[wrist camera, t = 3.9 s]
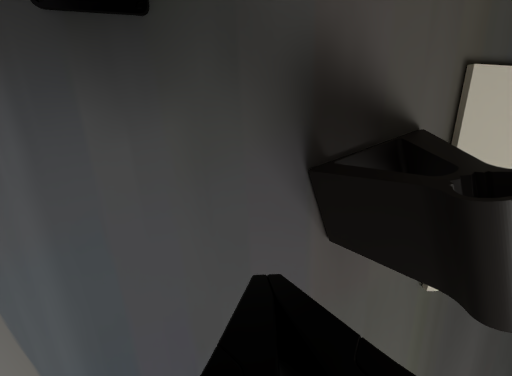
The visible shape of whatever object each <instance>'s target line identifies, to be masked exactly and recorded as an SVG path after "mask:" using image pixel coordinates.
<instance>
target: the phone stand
mask: <svg viewBox="0 0 512 376" xmlns="http://www.w3.org/2000/svg"><path fill="white" fill-rule="evenodd" d="M308 171H309V174H310V177H311V181H312V184H313V188H314V191H315V194H316V198H317V201H318V204H319V208H320V211H321V215H322V218H323V221H324V225H325V228H326V231H327V235H328V238H329V241H331V242H333V243H335V244H338V245H340V246H342V247H344V248H346V249H349V250H351V251H353V252H355V253H357V254H360V255H362V256H364V257H366V258H368V259H371V260H373V261H375V262H377V263H379V264H382V265H384V266H386V267H388V268H390V269H393V270H395V271H397V272H399V273H401V274H404V275H406V276H408V277H410V278H413V279H415V280H417V281H419V282H421V283H424V284H426V285H428V286H430V287H432V288H435V289H437V290H439V291H441V292H443V293H445V294H446V295H448V296H450V297H451V298H453V299H454V300H455V301H457V302H458V303H459V304H460V305H461V306H462V307H463V308H464V309H465V310H466V311H467V312H468V313H469V314H470V315H471V316H472V317H473V318H474V319H476V320H477V321H479V322H480V323H482V324H484V325H486V326H488V327H491V328H494V329H497V330H500V331H504V332H510V333H512V169H508V168H502V167H498V166H494V165H490V164H487V163H485V162H483V161H481V160H479V159H477V158H476V157H474V156H472V155H470V154H468V153H466V152H465V151H463V150H461V149H459V148H457V147H455V146H453V145H452V144H450V143H448V142H446V141H444V140H442V139H441V138H439V137H437V136H435V135H433V134H431V133H429V132H428V131H426V130H417V131H414V132H411V133H408V134H406V135H403V136H400V137H397V138H395V139H392V140H389V141H386V142H383V143H381V144H378V145H375V146H372V147H370V148H367V149H366V150H361V151H359V152H356V153H353V154H350V155H347V156H345V157H342V158H339V159H336V160H334V161H331V162H328V163H325V164H322V165H320V166H317V167H314V168H311V169H309V170H308Z"/></svg>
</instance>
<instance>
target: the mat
mask: <svg viewBox="0 0 512 376" xmlns="http://www.w3.org/2000/svg"><path fill="white" fill-rule="evenodd" d="M452 145H453V146H455V147H457V148H459V149H461V150H463V151H465V152H466V153H468V154H470V155H472V156H474V157H476V158H477V159H479V160H481V161H483V162H485V163H487V164H490V165H494V166H498V167H502V168H508V169H512V66H505V65H487V64H471V65H467V70H466V75H465V80H464V85H463V90H462V95H461V99H460V104H459V109H458V114H457V119H456V124H455V129H454V134H453V139H452ZM422 287H423V288H424V289H425V290H426V291H439V290H437V289H435V288H432V287H430V286H428V285H426V284H424V283H423V285H422Z"/></svg>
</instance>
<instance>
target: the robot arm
mask: <svg viewBox="0 0 512 376" xmlns="http://www.w3.org/2000/svg"><path fill="white" fill-rule="evenodd" d="M31 2H32V3H33V4H34V5H36V6H37V7H39V8H41V9H45V10H61V11H76V12H91V13H107V14H122V15H138V16H143V15H146V14H147V13H148V11H149V0H43V1H42V2H39V0H31ZM138 2H143V7H142V8H141V9H138V8H137V7H136V5H137V3H138ZM200 376H416V375H414V374H413V373H411V372H410V371H408V370H407V369H405V368H404V367H403V366H401V365H400V364H398V363H397V362H395V361H394V360H392V359H391V358H390V357H388V356H387V355H386V354H384V353H383V352H381V351H380V350H379V349H377V348H376V347H375V346H373V345H372V344H371V343H369V342H368V341H367V340H366V339H364V338H361V336H360V335H359V334H358V333H356V332H355V331H354V330H352V329H351V328H350V327H348V326H347V325H346V324H345V323H343V322H342V321H341V320H339V319H338V318H337V317H335V316H334V315H333V314H332V313H330V312H329V311H328V310H326V309H325V308H324V307H322V306H321V305H320V304H319V303H317V302H316V301H315V300H313V299H312V298H311V297H309V296H308V295H307V294H306V293H304V292H303V291H302V290H300V289H299V288H298V287H296V286H295V285H294V284H293V283H291V282H290V281H289V280H287V279H286V278H285V277H283V276H282V275H281V274H269V275H267V276H266V275H253V276H252V278H251V280H250V282H249V284H248V286H247V288H246V290H245V292H244V294H243V296H242V297H241V299H240V301H239V303H238V305H237V307H236V309H235V311H234V313H233V315H232V317H231V319H230V321H229V323H228V325H227V327H226V329H225V331H224V333H223V335H222V336H221V338H220V340H219V342H218V344H217V347H216V348H215V350H214V352H213V354H212V356H211V358H210V359H209V361H208V363H207V365H206V366H205V368H204V370H203V372H202V374H201V375H200Z"/></svg>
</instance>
